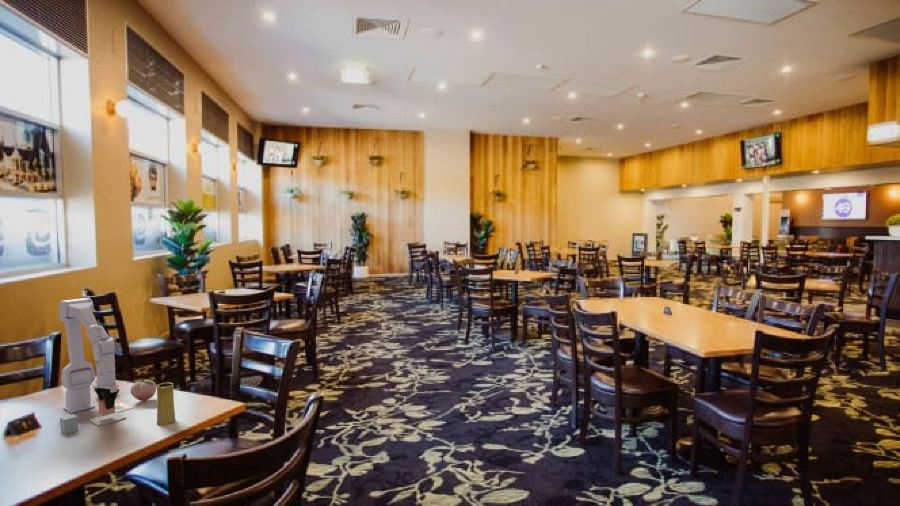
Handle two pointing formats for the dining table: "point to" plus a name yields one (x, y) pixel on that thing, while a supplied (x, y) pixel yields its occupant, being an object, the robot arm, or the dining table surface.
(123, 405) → the card
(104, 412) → the brick terracotta
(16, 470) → the dining table surface
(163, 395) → the vase
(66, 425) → the brick blue
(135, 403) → the dining table surface
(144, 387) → the decorative fruit
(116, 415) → the plate
